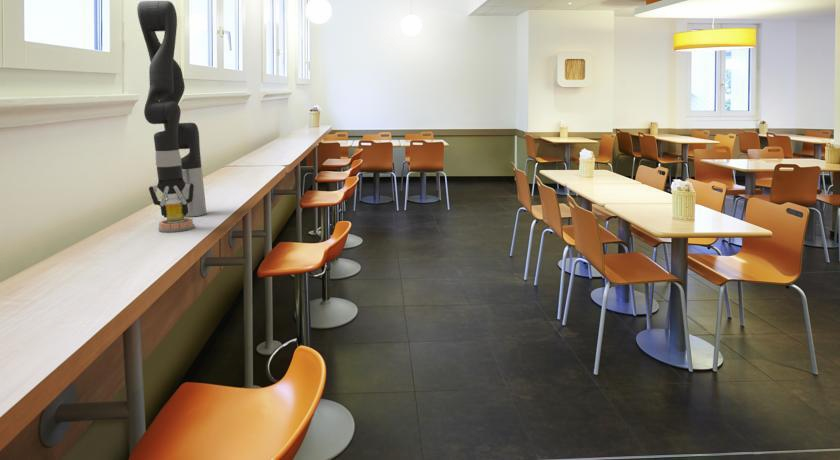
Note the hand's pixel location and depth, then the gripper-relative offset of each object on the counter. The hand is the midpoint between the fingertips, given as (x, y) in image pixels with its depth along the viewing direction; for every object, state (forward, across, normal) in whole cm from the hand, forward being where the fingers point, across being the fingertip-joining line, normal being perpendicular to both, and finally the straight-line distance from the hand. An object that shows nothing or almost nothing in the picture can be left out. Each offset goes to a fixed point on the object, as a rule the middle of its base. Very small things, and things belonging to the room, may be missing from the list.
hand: (175, 216), depth 204 cm
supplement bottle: (+2, 0, 0) cm, 2 cm away
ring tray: (+4, 0, 0) cm, 4 cm away
